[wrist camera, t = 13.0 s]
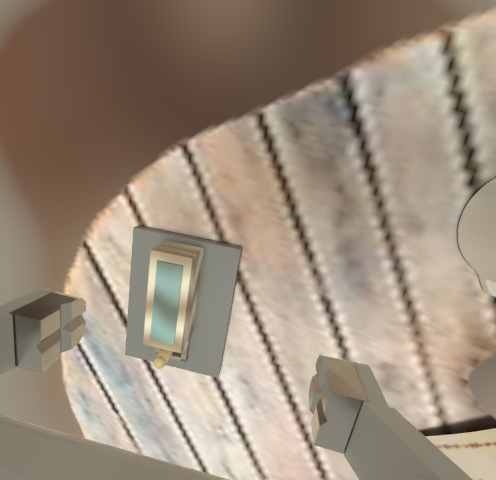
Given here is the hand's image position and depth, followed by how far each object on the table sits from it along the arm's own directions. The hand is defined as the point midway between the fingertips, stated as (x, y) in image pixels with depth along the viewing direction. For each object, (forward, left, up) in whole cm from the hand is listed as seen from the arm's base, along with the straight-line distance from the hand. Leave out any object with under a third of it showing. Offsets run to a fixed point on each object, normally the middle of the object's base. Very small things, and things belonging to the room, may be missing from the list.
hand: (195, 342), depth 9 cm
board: (+10, +16, -29) cm, 35 cm away
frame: (+10, +15, -28) cm, 33 cm away
